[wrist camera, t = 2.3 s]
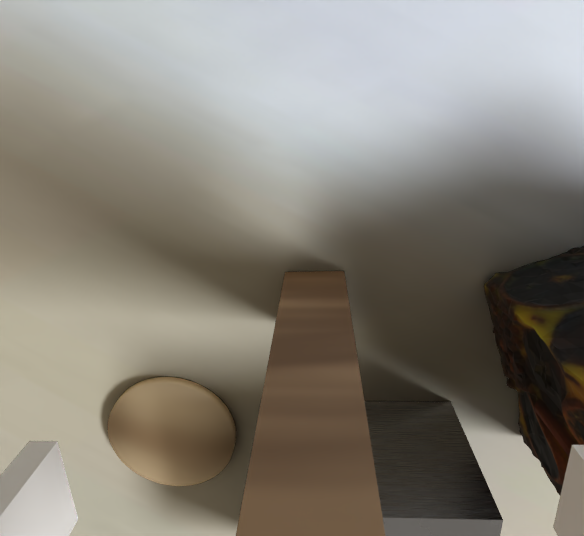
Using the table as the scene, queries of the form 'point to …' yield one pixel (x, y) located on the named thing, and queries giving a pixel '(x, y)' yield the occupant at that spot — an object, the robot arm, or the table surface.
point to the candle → (544, 353)
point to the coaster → (172, 431)
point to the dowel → (312, 422)
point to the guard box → (427, 472)
